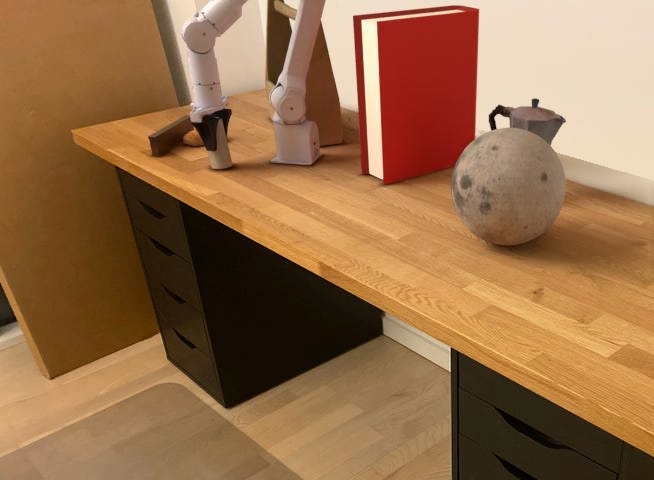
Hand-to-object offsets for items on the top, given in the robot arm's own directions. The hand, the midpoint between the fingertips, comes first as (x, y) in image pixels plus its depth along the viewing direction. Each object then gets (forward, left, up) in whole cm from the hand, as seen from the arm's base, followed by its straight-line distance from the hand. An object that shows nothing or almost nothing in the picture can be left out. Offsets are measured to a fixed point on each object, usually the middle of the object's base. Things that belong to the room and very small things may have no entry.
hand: (216, 147), depth 159 cm
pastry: (+11, -16, -5) cm, 20 cm away
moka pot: (-68, +4, -5) cm, 68 cm away
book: (-44, -10, -5) cm, 45 cm away
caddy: (-9, -31, -5) cm, 32 cm away
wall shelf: (+17, -13, -4) cm, 22 cm away
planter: (-1, 0, -4) cm, 4 cm away
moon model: (-67, +26, -5) cm, 72 cm away
